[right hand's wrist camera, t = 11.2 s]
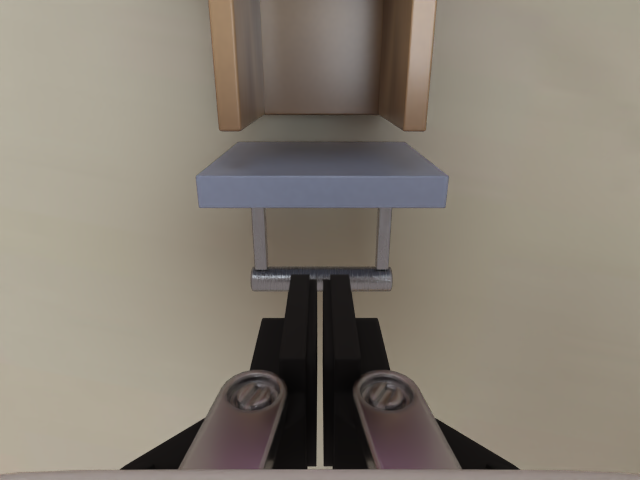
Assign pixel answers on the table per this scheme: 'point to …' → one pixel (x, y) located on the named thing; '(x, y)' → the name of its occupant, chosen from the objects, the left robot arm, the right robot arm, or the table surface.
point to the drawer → (322, 99)
